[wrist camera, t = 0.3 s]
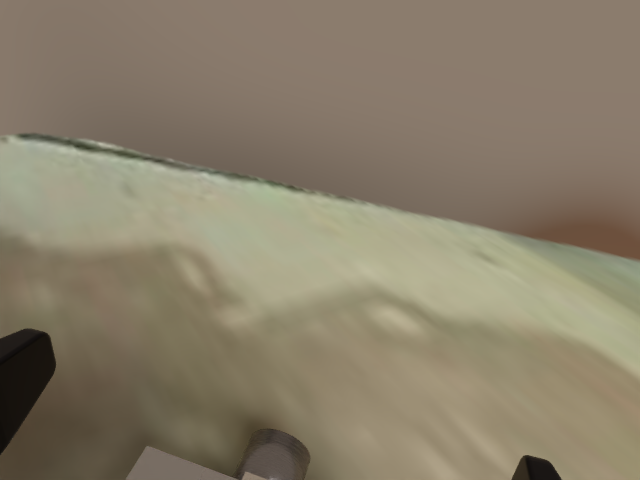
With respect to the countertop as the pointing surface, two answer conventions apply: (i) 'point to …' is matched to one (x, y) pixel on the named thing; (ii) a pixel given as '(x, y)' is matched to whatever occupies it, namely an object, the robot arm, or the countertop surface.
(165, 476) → the studded square plate
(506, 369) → the countertop surface
